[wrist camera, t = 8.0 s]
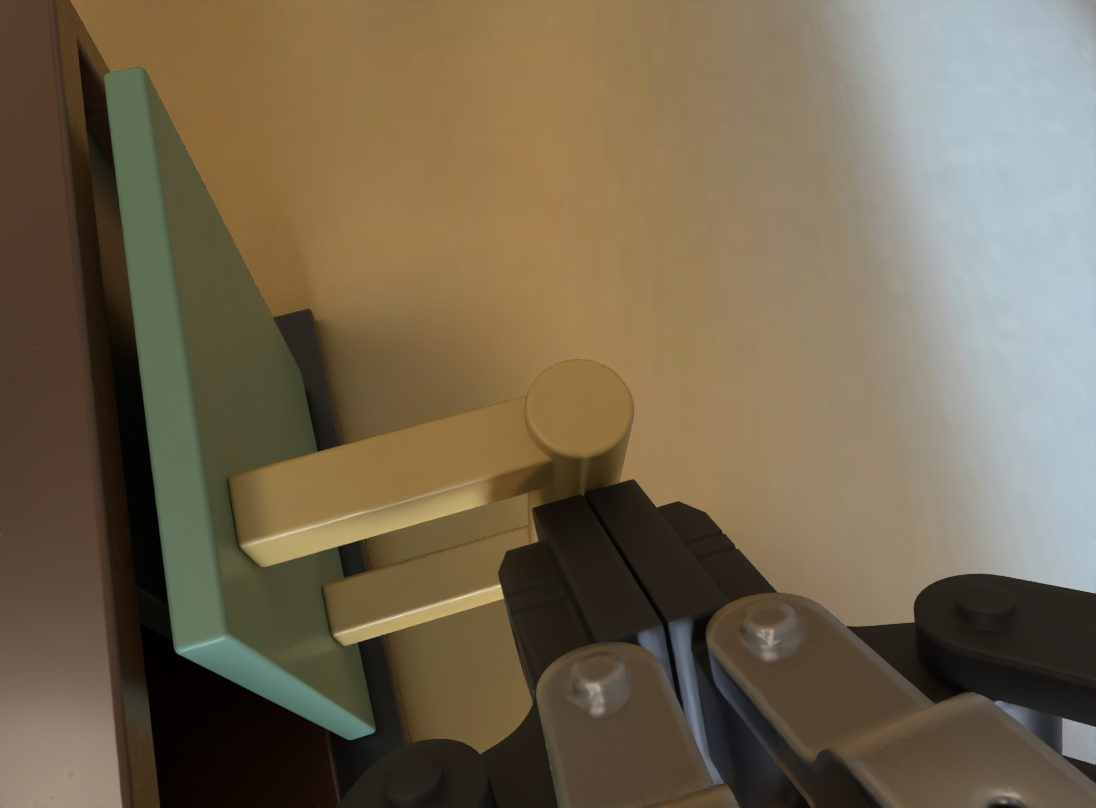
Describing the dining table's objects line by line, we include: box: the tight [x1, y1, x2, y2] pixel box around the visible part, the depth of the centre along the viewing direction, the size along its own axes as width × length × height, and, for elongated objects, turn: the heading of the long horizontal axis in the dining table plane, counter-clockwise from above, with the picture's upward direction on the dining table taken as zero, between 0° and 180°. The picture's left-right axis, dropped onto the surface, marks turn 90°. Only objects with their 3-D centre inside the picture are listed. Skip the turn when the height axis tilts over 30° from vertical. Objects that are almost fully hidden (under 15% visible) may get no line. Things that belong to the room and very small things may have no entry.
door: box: [104, 67, 634, 740], centre depth 16 cm, size 6×9×10 cm
